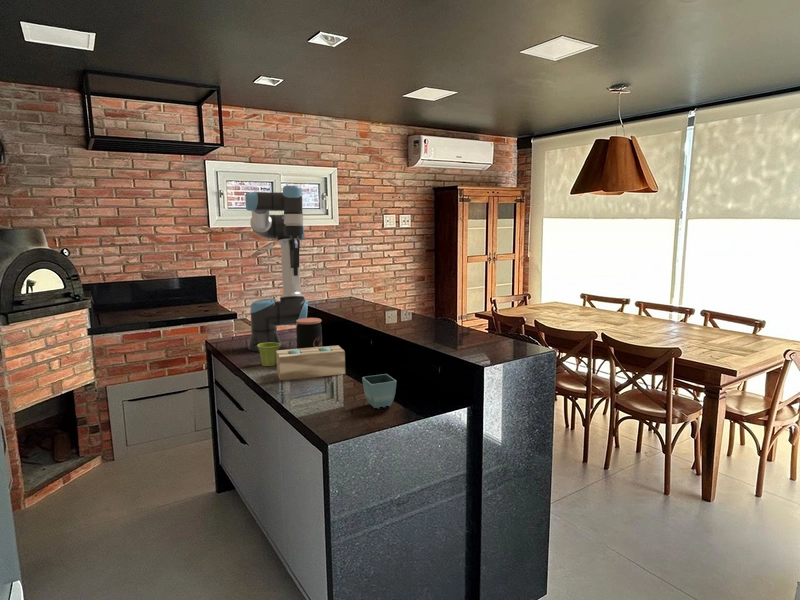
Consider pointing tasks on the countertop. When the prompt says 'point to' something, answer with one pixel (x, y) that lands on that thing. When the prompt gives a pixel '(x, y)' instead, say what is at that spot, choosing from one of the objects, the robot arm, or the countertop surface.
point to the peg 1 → (295, 352)
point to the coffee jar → (309, 333)
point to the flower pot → (379, 390)
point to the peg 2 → (325, 349)
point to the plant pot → (268, 353)
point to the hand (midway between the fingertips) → (295, 283)
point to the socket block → (310, 363)
